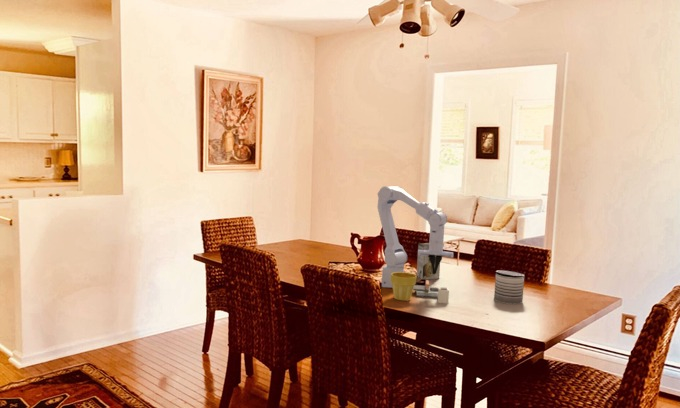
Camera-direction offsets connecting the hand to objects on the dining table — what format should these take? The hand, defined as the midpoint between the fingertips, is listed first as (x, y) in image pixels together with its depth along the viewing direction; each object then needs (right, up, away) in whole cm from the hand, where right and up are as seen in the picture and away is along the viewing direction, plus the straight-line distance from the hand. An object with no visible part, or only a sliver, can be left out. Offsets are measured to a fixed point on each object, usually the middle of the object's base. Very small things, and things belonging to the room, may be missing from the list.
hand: (434, 273), depth 234 cm
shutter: (-5, -7, +1) cm, 9 cm away
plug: (+2, -10, -9) cm, 14 cm away
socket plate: (-1, -9, +1) cm, 9 cm away
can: (+30, -11, -3) cm, 32 cm away
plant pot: (-14, -10, -7) cm, 18 cm away
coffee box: (+2, -6, +31) cm, 32 cm away
